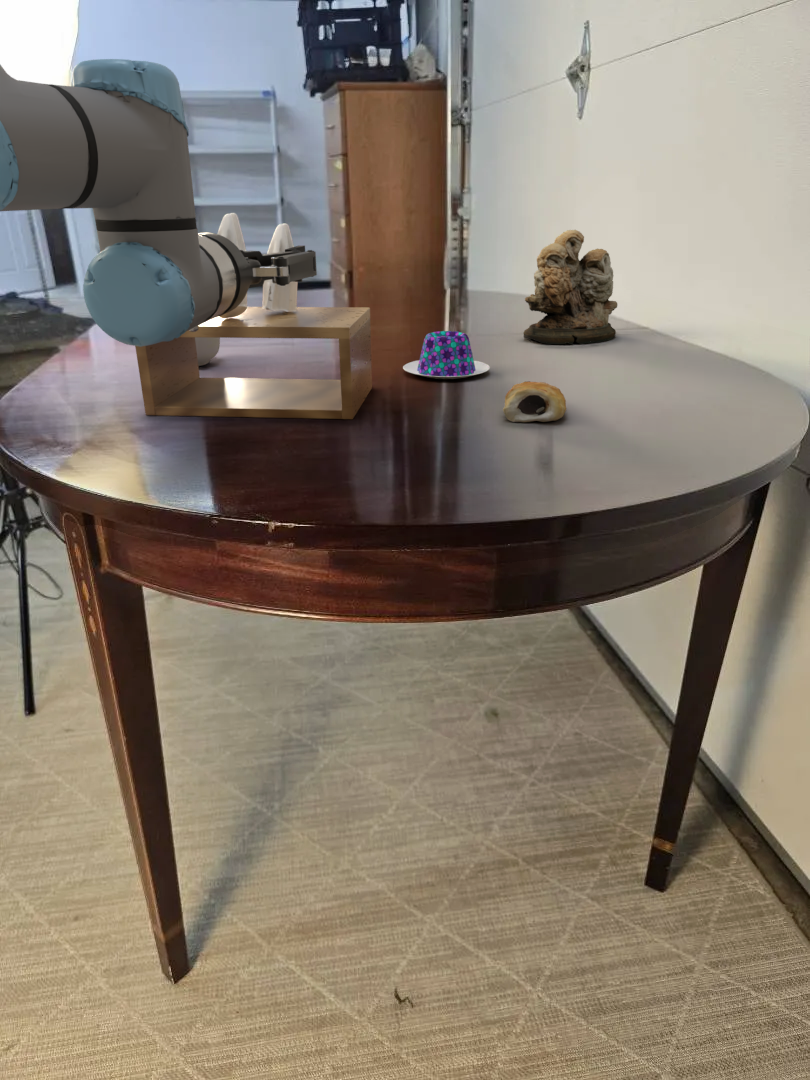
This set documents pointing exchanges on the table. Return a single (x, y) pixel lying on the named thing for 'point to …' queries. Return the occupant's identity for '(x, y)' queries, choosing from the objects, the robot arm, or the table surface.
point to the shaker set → (272, 293)
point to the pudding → (446, 357)
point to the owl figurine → (572, 293)
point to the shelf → (184, 393)
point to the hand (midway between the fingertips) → (265, 257)
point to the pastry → (534, 402)
